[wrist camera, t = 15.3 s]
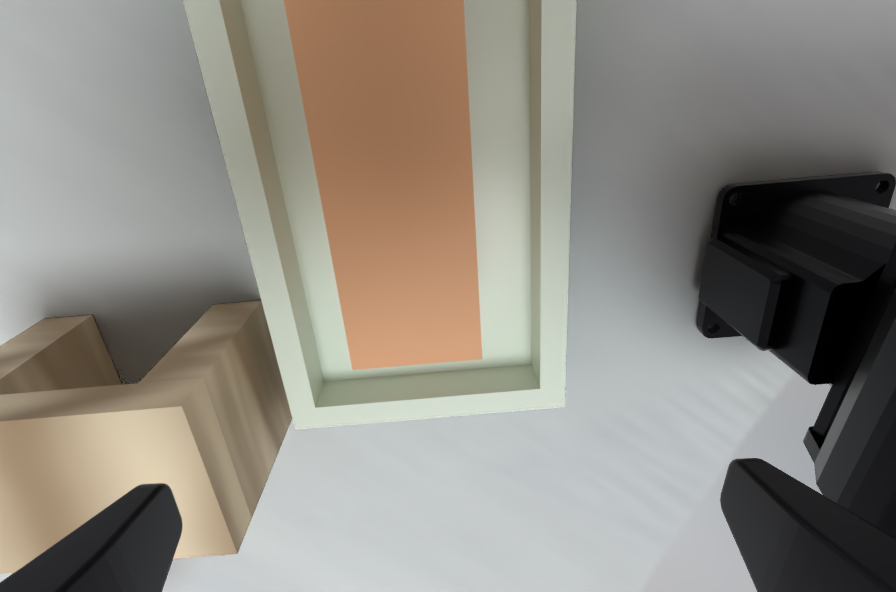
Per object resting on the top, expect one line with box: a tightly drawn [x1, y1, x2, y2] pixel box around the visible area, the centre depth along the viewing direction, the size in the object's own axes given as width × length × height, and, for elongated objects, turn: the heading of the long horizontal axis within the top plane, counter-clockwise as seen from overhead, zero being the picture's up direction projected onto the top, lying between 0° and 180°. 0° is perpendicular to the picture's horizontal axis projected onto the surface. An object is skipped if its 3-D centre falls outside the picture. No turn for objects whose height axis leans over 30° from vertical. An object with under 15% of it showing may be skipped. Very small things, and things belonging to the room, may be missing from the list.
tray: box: [183, 0, 577, 430], centre depth 16 cm, size 11×22×2 cm, turn 4°
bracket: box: [0, 301, 292, 574], centre depth 18 cm, size 9×6×7 cm, turn 94°
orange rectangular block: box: [284, 0, 482, 370], centre depth 14 cm, size 4×14×5 cm, turn 4°
